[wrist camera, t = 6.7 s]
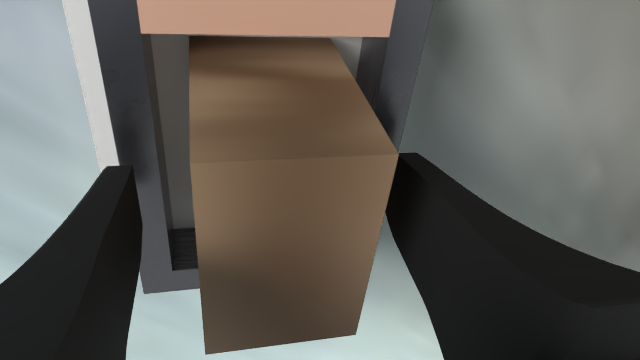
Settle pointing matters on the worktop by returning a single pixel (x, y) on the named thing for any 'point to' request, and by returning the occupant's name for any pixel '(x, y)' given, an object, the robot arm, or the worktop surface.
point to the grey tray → (173, 91)
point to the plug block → (282, 189)
